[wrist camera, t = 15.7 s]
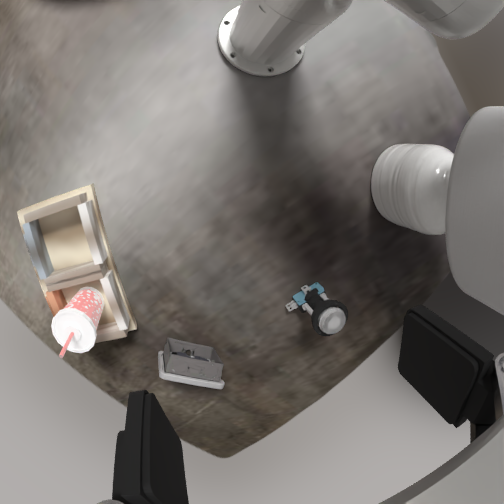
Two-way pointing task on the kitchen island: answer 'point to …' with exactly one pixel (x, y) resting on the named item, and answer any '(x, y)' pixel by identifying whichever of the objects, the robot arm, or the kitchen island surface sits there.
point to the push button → (320, 309)
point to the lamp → (453, 200)
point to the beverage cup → (78, 321)
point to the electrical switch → (190, 364)
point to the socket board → (76, 257)
